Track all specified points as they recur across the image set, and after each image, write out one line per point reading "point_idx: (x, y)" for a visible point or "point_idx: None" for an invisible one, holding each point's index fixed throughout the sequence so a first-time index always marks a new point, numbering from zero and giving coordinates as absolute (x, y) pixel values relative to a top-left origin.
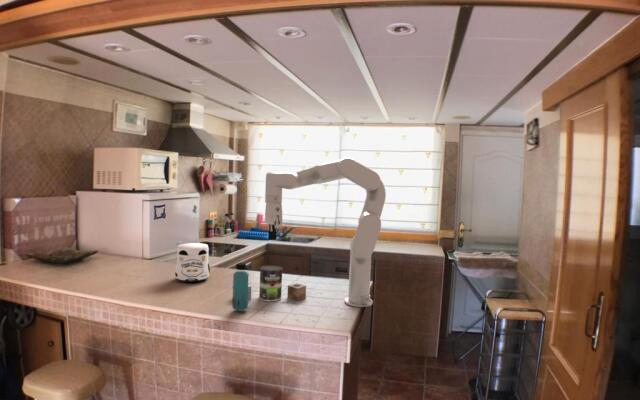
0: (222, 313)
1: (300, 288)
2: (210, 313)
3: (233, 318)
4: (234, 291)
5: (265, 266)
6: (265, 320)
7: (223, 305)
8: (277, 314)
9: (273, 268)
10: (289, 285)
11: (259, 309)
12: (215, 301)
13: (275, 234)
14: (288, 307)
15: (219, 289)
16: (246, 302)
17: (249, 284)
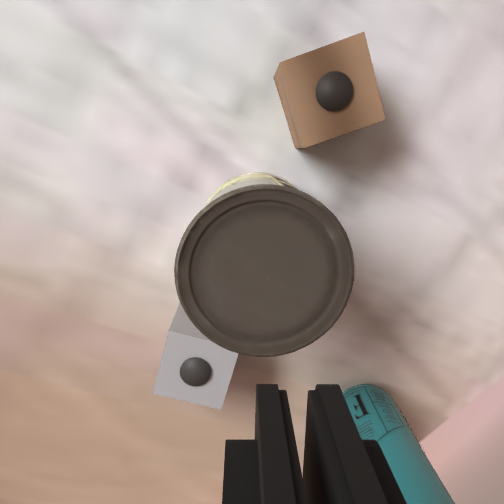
0: None
1: (375, 90)
2: None
3: None
4: None
5: (194, 294)
6: (497, 350)
7: None
8: (468, 286)
9: (277, 262)
10: (309, 137)
11: (377, 329)
12: (205, 450)
13: (403, 496)
14: (419, 205)
15: (41, 398)
16: (400, 412)
17: (197, 344)
